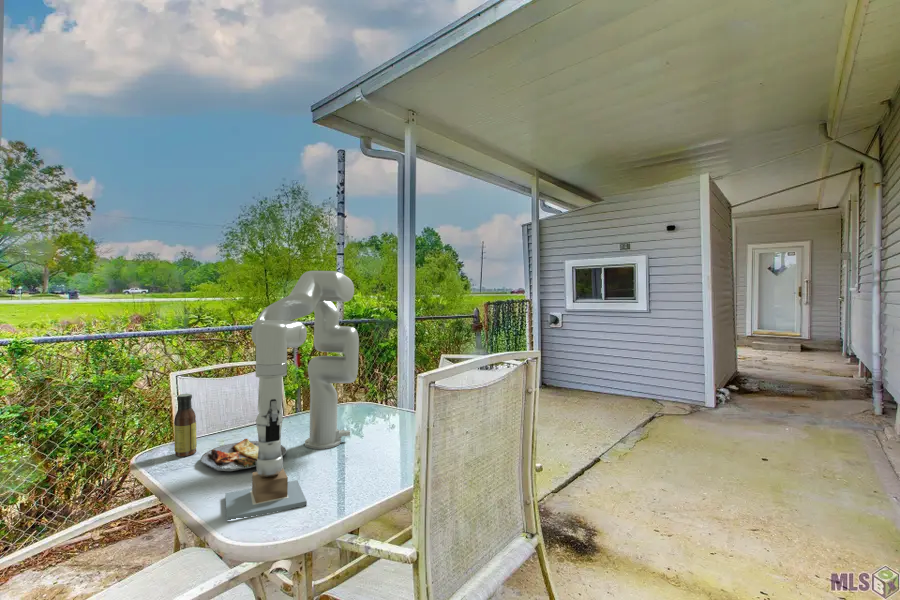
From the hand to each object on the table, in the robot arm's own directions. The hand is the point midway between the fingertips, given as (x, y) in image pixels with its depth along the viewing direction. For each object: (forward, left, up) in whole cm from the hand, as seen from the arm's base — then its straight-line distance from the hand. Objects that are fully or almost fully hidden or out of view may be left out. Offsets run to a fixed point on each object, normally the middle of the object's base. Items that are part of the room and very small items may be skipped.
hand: (270, 435), depth 112 cm
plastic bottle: (0, 0, -10) cm, 11 cm away
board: (+1, +1, -17) cm, 17 cm away
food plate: (+4, -33, -17) cm, 37 cm away
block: (0, 0, -15) cm, 15 cm away
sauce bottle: (+21, -46, -17) cm, 53 cm away
